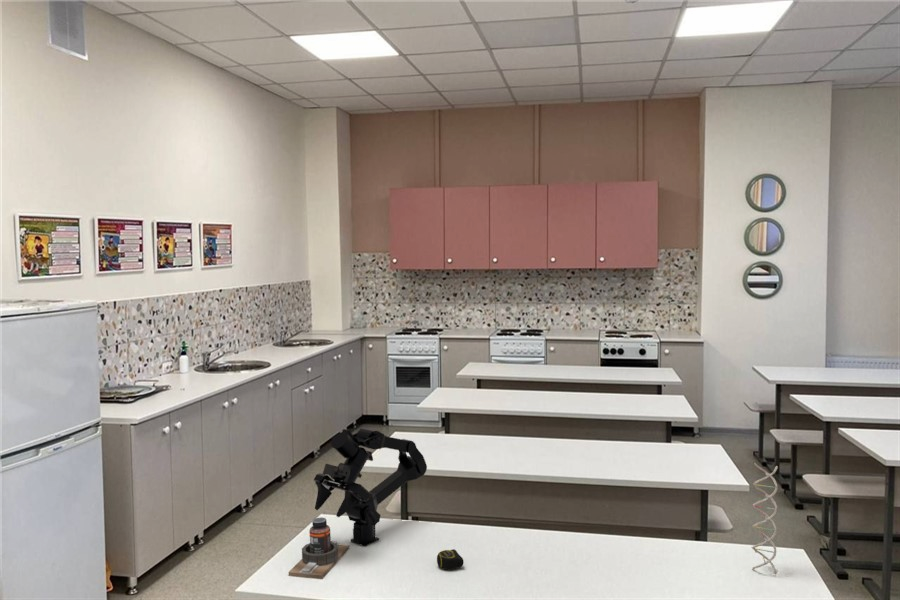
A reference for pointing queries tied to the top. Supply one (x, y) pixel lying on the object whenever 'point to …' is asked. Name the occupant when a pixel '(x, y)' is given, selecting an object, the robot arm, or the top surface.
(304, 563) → the clip holder
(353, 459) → the robot arm
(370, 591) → the top surface
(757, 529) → the dna model
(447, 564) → the tape measure
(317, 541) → the supplement bottle
